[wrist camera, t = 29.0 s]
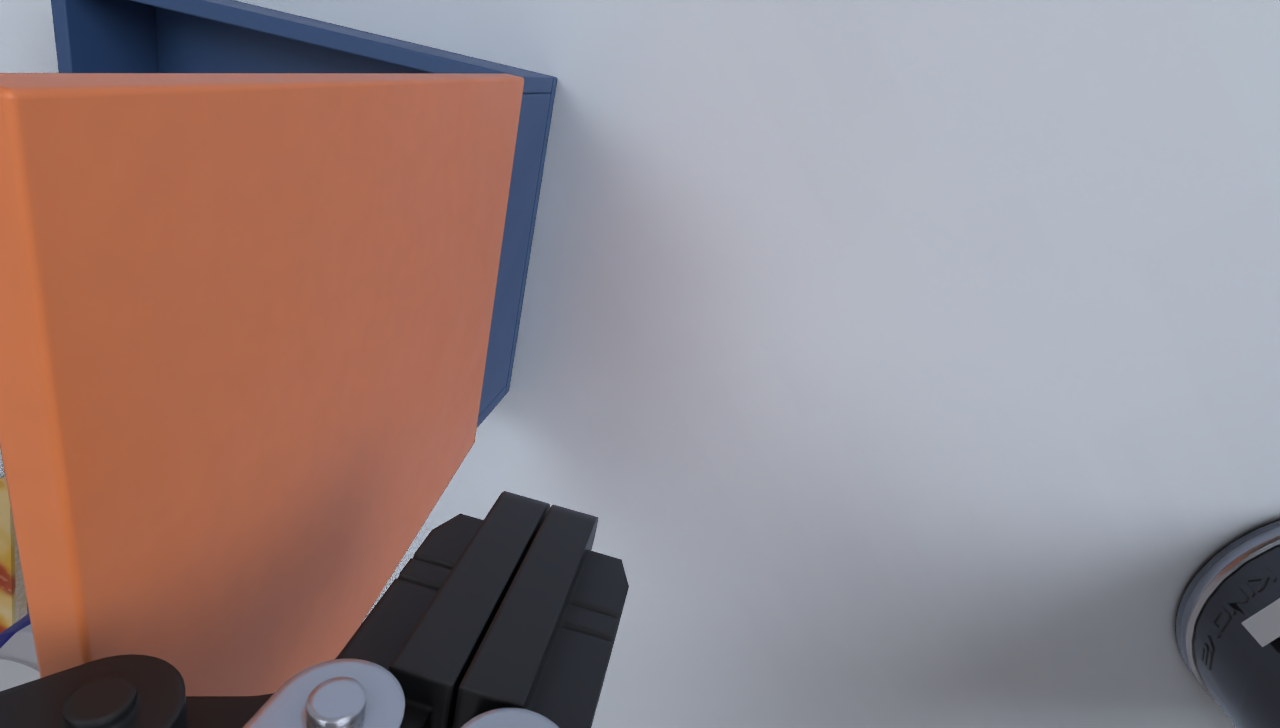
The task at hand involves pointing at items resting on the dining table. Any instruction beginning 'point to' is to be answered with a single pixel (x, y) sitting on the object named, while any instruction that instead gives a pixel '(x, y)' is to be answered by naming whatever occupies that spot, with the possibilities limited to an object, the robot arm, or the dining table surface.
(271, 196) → the lunchbox lid
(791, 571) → the dining table surface
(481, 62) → the lunchbox
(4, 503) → the pizza slice
